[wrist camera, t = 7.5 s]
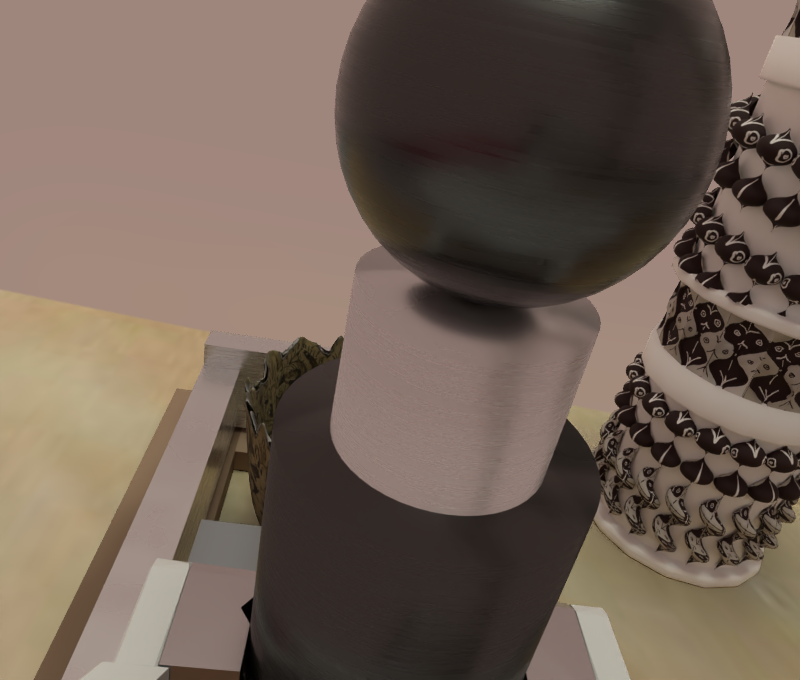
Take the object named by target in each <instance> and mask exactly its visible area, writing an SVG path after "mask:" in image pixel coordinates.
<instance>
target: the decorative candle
mask: <svg viewBox="0 0 800 680" xmlns="http://www.w3.org/2000/svg"><path fill="white" fill-rule="evenodd" d="M759 77H760V78H761V79H764V80H767V81H766V84H765V86H764V88H763V91H762V93H761V94H760V95H758V96H754V97H752V95H753V93H752V94H751V96H750V97H748V98H747V99H743V100H739V101H736V102H734V103H732V104H731V113H730V121H729V126H728V131H729V132H730V133H731V134H732V137H733V139H731V140H727V141H725V146H724V150H723V152H722V155H721V158H720V161H719V164H718V167H717V170H716V173H715V175H714V177H713V179H714V181H715V182H716V183H717V184H719V185H720V187H717V188H716V189H714V190H713V191H712V192H707V193H706V194H705V196H704V198H703V200H702V201H701V203H700V204H699V206H698V207H697V209H696V210H695V212H694V213H693V215H692V216H691V218H690V220H691V221H692V222H693V223H694V224H695V225H696V226H695V227H694V228H690V229H688V230H686V231H685V232H684V233H683V236H682V240H679V241H677V242H676V244H675V245H674V252H675V254H676V255H677V256H676V257H675V259H674V261H673V264H672V266H673V268H674V270H675V272H676V274H677V276H678V278H679V280H680V282H679V284H678V286H677V287H676V289H675V291H674V293H673V295H672V297H671V298H670V300H669V303H668V306H667V312H666V314H665V316H664V318H663V319H661V320H660V321H659V322H658V324H657V325H656V326H655V327H654V328H653V330H652V332H651V334H650V337H649V339H648V342H647V344H646V346H645V349H644V351H643V352H641V353H639V354H637V355H636V357H635V360H634V362H633V363H631V364H630V365H628V366H627V368H626V374H627V376H628V377H629V379H630V381H628V382H626V383H625V385H624V387H623V391H622V392H619V393H618V394H617V395H616V396H615V403H616V405H617V406H618V407H619V408H620V409H617V410H615V411H614V412H613V413H612V414H611V416H610V417H609V420H608V421H607V422H605V423H604V424H603V426H602V427H601V430H600V436H601V440H600V442H599V446H598V447H596V448H595V449H594V450H593V451H592V454H593V456H594V458H595V461H596V464H597V466H598V469H599V474H600V480H601V499H600V502H599V506H598V510H597V513H596V515H595V517H594V519H593V520H594V521H595V523H596V525H597V526H598V528H599V530H600V531H601V532H602V533H604V534H605V535H606V536H607V537H608V538H609V539H610V540H611V541H612V542H613V543H615V544H616V545H617V546H618V547H619V548H620V549H621V550H622V551H623V552H624V553H625V554H627V555H628V556H629V557H631V558H633V559H635V560H636V561H638V562H640V563H642V564H643V565H645V566H647V567H649V568H651V569H652V570H654V571H656V572H658V573H660V574H661V575H663V576H665V577H668V578H672V579H675V580H679V581H682V582H686V583H689V584H693V585H696V586H700V587H703V588H712V587H737V586H739V585H740V584H742V583H743V582H745V581H746V580H748V579H749V578H751V577H753V576H754V575H756V574H757V573H758V571H759V569H760V566H761V561H762V559H763V557H764V554H763V552H764V548H771V549H775V548H777V547H778V540H777V539H776V537H775V535H776V534H778V533H779V532H780V531H781V526H782V524H781V522H784V523H792V522H794V521H795V519H796V516H795V513H794V511H793V509H792V507H791V505H795V504H796V503H797V502H798V499H799V498H800V0H798V1H797V4H796V8H795V11H794V13H793V16H792V18H791V20H790V22H789V24H788V26H787V28H786V29H785V31H784V32H783V34H782V35H781V36H780V35H776V36H775V39H774V41H773V44H772V46H771V49H770V51H769V53H768V56H767V58H766V60H765V63H764V65H763V67H762V70H761V72H760V75H759ZM733 156H734V159H733V161H729V160H730V159H731V158H732V157H733ZM728 161H729V162H728Z"/></svg>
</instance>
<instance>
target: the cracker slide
mask: <svg viewBox="0 0 800 680" xmlns="http://www.w3.org/2000/svg"><path fill="white" fill-rule="evenodd" d="M731 97H732V82H731V69H730V57H729V52H728V48H727V43H726V39H725V35H724V30H723V27H722V24H721V22H720V19H719V16H718V14H717V11H716V9H715V6H714V4H713V1H712V0H367V1H366V3H365V4H364V6H363V7H362V9H361V11H360V13H359V16H358V18H357V20H356V22H355V24H354V26H353V28H352V30H351V32H350V35H349V38H348V42H347V44H346V47H345V50H344V53H343V56H342V60H341V65H340V70H339V75H338V80H337V85H336V99H335V128H336V144H337V149H338V154H339V160H340V164H341V169H342V172H343V175H344V178H345V181H346V184H347V187H348V190H349V192H350V194H351V196H352V198H353V200H354V203H355V204H356V207H357V209H358V211H359V213H360V215H361V217H362V219H363V220H364V222H365V223H366V225H367V226H368V227H369V229H370V230H371V232H372V233H373V235H374V236H375V238H376V239H377V240H378V241H379V243H380V244H381V245H382V246H380V247H377V248H375V249H372V250H371V251H369V252H367V253H366V254H364V255H363V256H362V257H361V258H360V260H359V261H358V263H357V265H356V269H355V274H354V280H353V287H352V293H351V299H350V305H349V311H348V317H347V323H346V329H345V335H344V341H343V347H342V353H341V358H338V359H334V360H331V361H328V362H326V363H324V364H321V365H319V366H317V367H315V368H313V369H311V370H310V371H308V372H306V373H305V374H303V375H302V376H301V377H299V378H298V379H297V380H296V381H294V382H293V384H292V385H291V386H290V387H289V388H288V389H287V390H286V391H285V393H284V394H283V396H282V398H281V399H280V401H279V403H278V406H277V408H276V411H275V414H274V421H273V429H272V438H271V447H270V455H269V464H268V473H267V482H266V491H265V499H264V508H263V517H262V526H261V535H260V543H259V552H258V561H257V570H256V579H255V587H254V596H253V605H252V614H251V623H250V631H249V640H248V649H247V658H246V667H245V675H244V680H523V679H524V676H525V674H526V672H527V669H528V667H529V665H530V663H531V660H532V658H533V656H534V654H535V651H536V649H537V647H538V644H539V642H540V640H541V638H542V635H543V633H544V631H545V629H546V626H547V624H548V622H549V619H550V617H551V615H552V613H553V610H554V608H555V606H556V604H557V601H558V599H559V597H560V594H561V592H562V590H563V588H564V585H565V583H566V581H567V579H568V576H569V574H570V572H571V569H572V567H573V565H574V563H575V560H576V558H577V556H578V554H579V551H580V549H581V547H582V544H583V542H584V540H585V538H586V535H587V533H588V531H589V529H590V526H591V524H592V522H593V519H594V517H595V515H596V513H597V510H598V506H599V502H600V499H601V480H600V474H599V469H598V466H597V464H596V461H595V458H594V456H593V454H592V452H591V450H590V448H589V446H588V444H587V443H586V442H585V440H584V439H583V437H582V436H581V435H580V433H579V432H578V431H577V429H576V428H575V427H574V426H573V425H572V424H571V423H570V422H569V421H568V419H566V418H567V416H568V413H569V410H570V408H571V405H572V402H573V399H574V397H575V394H576V392H577V389H578V386H579V384H580V380H581V378H582V376H583V373H584V370H585V368H586V365H587V362H588V360H589V357H590V354H591V352H592V349H593V346H594V344H595V341H596V338H597V336H598V333H599V331H600V324H601V322H600V317H599V314H598V312H597V310H596V309H595V307H594V306H593V304H592V303H591V302H590V301H589V300H588V299H587V298H586V297H588V296H590V295H593V294H596V293H598V292H600V291H602V290H604V289H606V288H609V287H610V286H613V285H615V284H617V283H618V282H620V281H622V280H624V279H626V278H627V277H629V276H630V275H632V274H633V273H635V272H636V271H638V270H639V269H641V268H642V267H643V266H645V265H646V264H647V263H648V262H649V261H651V260H652V259H653V258H654V257H655V256H656V255H657V254H658V253H660V252H661V251H662V250H663V249H664V248H665V247H666V246H667V245H668V244H669V243H670V242H671V241H672V240H673V238H674V237H675V236H676V235H677V234H678V233H679V232H680V230H681V229H682V228H683V227H684V226H685V225H686V224H687V222H688V221H689V219H690V218H691V216H692V215H693V213H694V212H695V210H696V209H697V207H698V206H699V204H700V203H701V201H702V200H703V198H704V196H705V194H706V191H707V190H708V188H709V185H710V183H711V181H712V179H713V177H714V175H715V173H716V170H717V167H718V164H719V161H720V158H721V155H722V152H723V150H724V146H725V141H726V136H727V131H728V126H729V121H730V113H731ZM291 344H292V342H286V341H280V340H272V339H266V338H259V337H252V336H246V335H239V334H232V333H225V332H218V331H211V332H210V334H209V337H208V339H207V341H206V343H205V351H204V365H203V368H202V370H201V372H200V374H199V376H198V379H197V381H196V383H195V385H194V388H193V390H192V392H191V394H190V396H189V399H188V401H187V403H186V405H185V407H184V410H183V412H182V414H181V416H180V418H179V421H178V423H177V425H176V427H175V430H174V432H173V434H172V436H171V438H170V441H169V443H168V445H167V447H166V449H165V452H164V454H163V456H162V458H161V460H160V463H159V465H158V467H157V469H156V472H155V474H154V476H153V478H152V480H151V483H150V485H149V487H148V489H147V491H146V494H145V496H144V498H143V500H142V502H141V505H140V507H139V509H138V511H137V513H136V516H135V518H134V520H133V522H132V525H131V527H130V529H129V531H128V533H127V536H126V538H125V540H124V542H123V544H122V547H121V549H120V551H119V553H118V555H117V558H116V560H115V562H114V564H113V567H112V569H111V571H110V573H109V575H108V578H107V580H106V582H105V584H104V586H103V589H102V591H101V593H100V595H99V597H98V600H97V602H96V604H95V606H94V608H93V611H92V613H91V615H90V617H89V620H88V622H87V624H86V626H85V628H84V631H83V633H82V635H81V637H80V639H79V642H78V644H77V646H76V648H75V650H74V653H73V655H72V657H71V659H70V662H69V664H68V666H67V668H66V670H65V673H64V675H63V677H62V679H61V680H79V679H81V678H82V677H83V676H84V675H86V674H87V673H88V672H89V671H90V670H92V669H93V668H94V667H95V666H96V665H98V664H99V663H100V662H101V661H106V662H113V661H114V658H115V656H116V653H117V651H118V648H119V646H120V643H121V640H122V638H123V635H124V633H125V630H126V628H127V625H128V623H129V620H130V618H131V615H132V613H133V610H134V608H135V605H136V602H137V600H138V597H139V595H140V592H141V590H142V587H143V585H144V582H145V580H146V577H147V575H148V572H149V570H150V567H151V566H152V564H153V563H154V562H155V560H156V559H157V558H160V559H168V560H176V561H184V562H188V559H189V556H190V553H191V550H192V547H193V544H194V541H195V538H196V534H197V531H198V528H199V525H200V522H201V519H203V520H206V517H207V514H208V510H209V507H210V504H211V501H212V498H213V495H214V492H215V489H216V486H217V482H218V479H219V476H220V473H221V470H222V467H223V464H224V461H225V458H226V454H227V451H228V448H229V445H230V442H231V439H232V436H233V433H234V429H235V427H242V428H246V408H245V400H244V392H245V382H246V379H247V377H249V379H250V384H251V388H250V391H251V389H252V388H253V384H254V382H255V381H260V380H261V379H262V378H263V372H264V360H265V357H266V355H267V353H268V352H269V351H271V350H276V351H279V352H281V353H283V352H284V350H287V349H288V348H289V346H290V345H291ZM322 348H324V349H325V350H327V351H329V350H330V349H331V348H327V347H322ZM321 350H322V349H321Z"/></svg>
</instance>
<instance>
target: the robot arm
mask: <svg viewBox="0 0 800 680" xmlns="http://www.w3.org/2000/svg"><path fill="white" fill-rule="evenodd" d="M255 579H256V571H252V570H245V569H238V568H230V567H223V566H216V565H209V564H201V563H194V562H193V563H192V562H184V561H176V560H168V559H160V558H157V559H156V560H155V562H154V563H153V564H152V566H151V567H150V570H149V572H148V575H147V577H146V580H145V582H144V585H143V587H142V590H141V592H140V595H139V597H138V600H137V602H136V605H135V608H134V610H133V613H132V615H131V618H130V620H129V623H128V625H127V628H126V630H125V633H124V635H123V638H122V640H121V643H120V646H119V648H118V651H117V653H116V656H115V658H114V661H113V662H106V661H101V662H100V663H99V664H98V665H96V666H95V667H94V668H93V669H92V670H90V671H89V672H88V673H87V674H86V675H84V676H83V677H82V678H81V679H79V680H244V675H245V667H246V658H247V649H248V640H249V631H250V623H251V614H252V605H253V596H254V587H255ZM523 680H631V679H630V676H629V673H628V670H627V668H626V665H625V662H624V659H623V657H622V654H621V651H620V648H619V646H618V643H617V640H616V637H615V634H614V632H613V629H612V626H611V623H610V621H609V618H608V615H607V613H606V612H605V611H604V610H603V609H602V608H598V607H589V606H580V605H571V604H570V605H568V604H566V603H557V604H556V606H555V608H554V610H553V613H552V615H551V617H550V619H549V622H548V624H547V626H546V629H545V631H544V633H543V635H542V638H541V640H540V642H539V644H538V647H537V649H536V651H535V654H534V656H533V658H532V660H531V663H530V665H529V667H528V669H527V672H526V674H525V676H524V679H523Z"/></svg>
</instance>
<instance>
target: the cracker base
mask: <svg viewBox="0 0 800 680" xmlns="http://www.w3.org/2000/svg"><path fill="white" fill-rule="evenodd" d="M191 392H192V391H191V390H184V389H176V391H175V393H174V396H173V398H172V400H171V402H170V404H169V406H168V408H167V410H166V412H165V414H164V416H163V418H162V420H161V422H160V424H159V426H158V428H157V430H156V432H155V434H154V436H153V438H152V440H151V442H150V444H149V446H148V448H147V450H146V452H145V455H144V457H143V459H142V461H141V463H140V465H139V467H138V469H137V471H136V473H135V475H134V477H133V479H132V481H131V483H130V485H129V487H128V489H127V491H126V493H125V495H124V497H123V499H122V501H121V503H120V505H119V507H118V509H117V511H116V514H115V516H114V518H113V520H112V522H111V524H110V526H109V528H108V530H107V532H106V534H105V536H104V538H103V540H102V542H101V544H100V546H99V548H98V550H97V552H96V554H95V556H94V558H93V560H92V562H91V564H90V566H89V568H88V570H87V573H86V575H85V577H84V579H83V581H82V583H81V585H80V587H79V589H78V591H77V593H76V595H75V597H74V599H73V601H72V603H71V605H70V607H69V609H68V611H67V613H66V615H65V617H64V619H63V621H62V623H61V625H60V627H59V630H58V632H57V634H56V636H55V638H54V640H53V642H52V644H51V646H50V648H49V650H48V652H47V654H46V656H45V658H44V660H43V662H42V664H41V666H40V668H39V670H38V672H37V674H36V676H35V678H34V680H61V679H62V677H63V675H64V673H65V670H66V668H67V666H68V664H69V662H70V659H71V657H72V655H73V653H74V650H75V648H76V646H77V644H78V642H79V639H80V637H81V635H82V633H83V631H84V628H85V626H86V624H87V622H88V620H89V617H90V615H91V613H92V611H93V608H94V606H95V604H96V602H97V600H98V597H99V595H100V593H101V591H102V589H103V586H104V584H105V582H106V580H107V578H108V575H109V573H110V571H111V569H112V567H113V564H114V562H115V560H116V558H117V555H118V553H119V551H120V549H121V547H122V544H123V542H124V540H125V538H126V536H127V533H128V531H129V529H130V527H131V525H132V522H133V520H134V518H135V516H136V513H137V511H138V509H139V507H140V505H141V502H142V500H143V498H144V496H145V494H146V491H147V489H148V487H149V485H150V483H151V480H152V478H153V476H154V474H155V472H156V469H157V467H158V465H159V463H160V460H161V458H162V456H163V454H164V452H165V449H166V447H167V445H168V443H169V441H170V438H171V436H172V434H173V432H174V430H175V427H176V425H177V423H178V421H179V418H180V416H181V414H182V412H183V410H184V407H185V405H186V403H187V401H188V399H189V396H190V394H191ZM233 469H236V470H244V471H248V455H247V435H246V428H242V427H235V429H234V433H233V436H232V439H231V442H230V445H229V448H228V451H227V454H226V458H225V461H224V464H223V467H222V470H221V473H220V476H219V479H218V482H217V486H216V489H215V492H214V495H213V498H212V501H211V504H210V507H209V510H208V514H207V517H206V520H203V519H201V522H200V525H199V528H198V531H197V534H196V538H195V541H194V544H193V547H192V550H191V553H190V556H189V559H188V562H192V563H193V562H194V563H201V564H209V565H216V566H223V567H230V568H238V569H245V570H252V571H256V570H257V561H258V552H259V543H260V535H261V526H255V525H247V524H238V523H229V522H221V521H218V520H219V516H220V513H221V510H222V506H223V503H224V500H225V496H226V493H227V489H228V486H229V483H230V479H231V476H232V473H233Z"/></svg>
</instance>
